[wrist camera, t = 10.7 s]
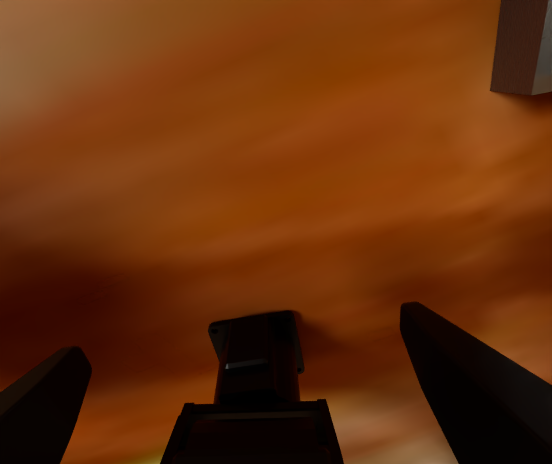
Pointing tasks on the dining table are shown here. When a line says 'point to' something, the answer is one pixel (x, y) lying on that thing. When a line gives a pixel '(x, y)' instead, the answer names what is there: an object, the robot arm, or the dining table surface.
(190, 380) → the dining table surface
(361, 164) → the dining table surface
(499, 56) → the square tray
